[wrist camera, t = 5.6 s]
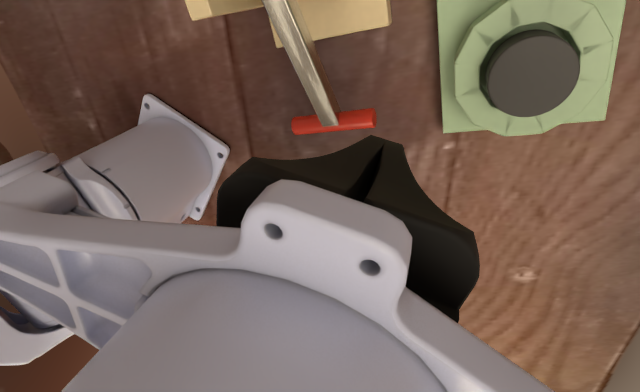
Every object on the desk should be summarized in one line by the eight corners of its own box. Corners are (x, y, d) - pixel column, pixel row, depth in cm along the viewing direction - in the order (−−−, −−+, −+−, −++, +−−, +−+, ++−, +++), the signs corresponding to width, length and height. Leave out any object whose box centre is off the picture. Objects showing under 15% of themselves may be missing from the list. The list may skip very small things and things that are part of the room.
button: (565, 101, 17) (574, 113, 16) (484, 110, 19) (486, 121, 17) (575, 21, 16) (586, 27, 14) (485, 37, 17) (487, 43, 16)
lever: (378, 109, 21) (374, 140, 20) (302, 117, 23) (294, 146, 22) (305, -151, 12) (289, -120, 10) (186, -100, 14) (161, -69, 12)
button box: (598, 112, 19) (617, 133, 17) (443, 126, 22) (441, 145, 20) (636, -121, 15) (671, -138, 12) (434, -64, 18) (430, -69, 15)
